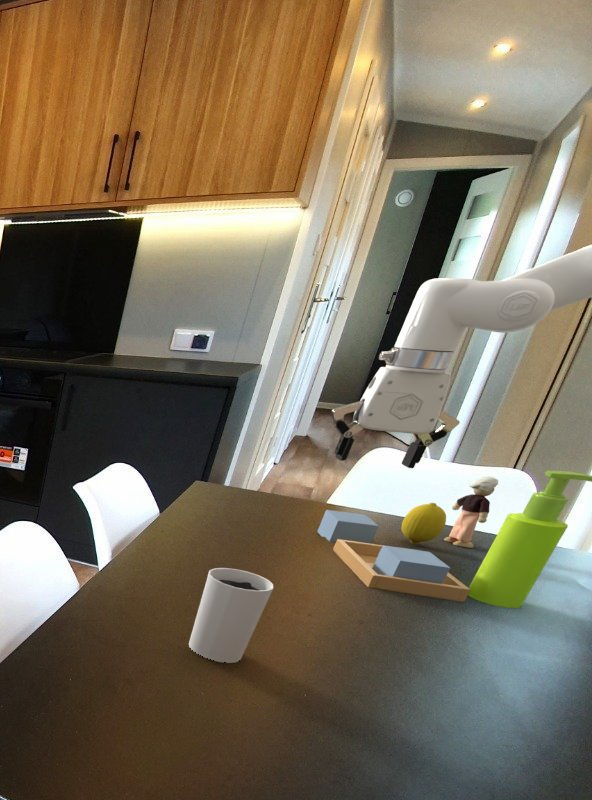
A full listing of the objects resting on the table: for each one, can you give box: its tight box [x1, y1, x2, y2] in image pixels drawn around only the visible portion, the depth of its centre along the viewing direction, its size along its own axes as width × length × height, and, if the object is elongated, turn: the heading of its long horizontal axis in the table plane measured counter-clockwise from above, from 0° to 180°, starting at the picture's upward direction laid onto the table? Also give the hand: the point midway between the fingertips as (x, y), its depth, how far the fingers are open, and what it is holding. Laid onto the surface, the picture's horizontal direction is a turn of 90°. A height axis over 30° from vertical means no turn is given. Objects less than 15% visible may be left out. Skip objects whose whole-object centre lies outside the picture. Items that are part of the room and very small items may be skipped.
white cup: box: [188, 567, 274, 664], centre depth 78 cm, size 7×7×10 cm
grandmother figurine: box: [443, 476, 499, 549], centre depth 116 cm, size 8×4×13 cm, turn 179°
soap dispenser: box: [467, 470, 592, 609], centre depth 91 cm, size 6×7×20 cm
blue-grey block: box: [372, 545, 451, 584], centre depth 99 cm, size 6×7×4 cm
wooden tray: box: [332, 539, 470, 603], centre depth 103 cm, size 12×17×2 cm
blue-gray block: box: [317, 509, 380, 544], centre depth 117 cm, size 6×7×4 cm
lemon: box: [400, 502, 447, 545], centre depth 116 cm, size 6×6×8 cm
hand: (373, 462), depth 112 cm, fingers open, 9 cm apart
